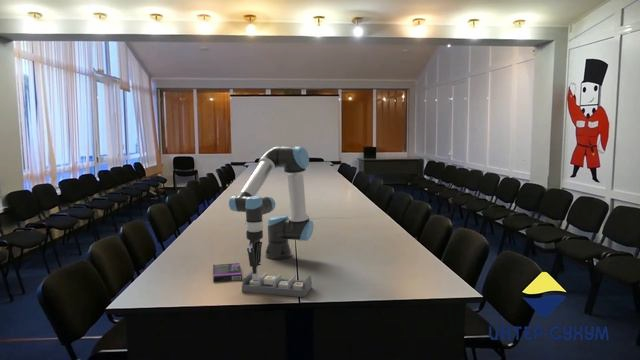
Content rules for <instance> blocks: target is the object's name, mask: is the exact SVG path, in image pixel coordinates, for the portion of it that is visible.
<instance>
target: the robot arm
mask: <svg viewBox="0 0 640 360" xmlns="http://www.w3.org/2000/svg"><path fill="white" fill-rule="evenodd" d="M309 162H310V157H309V153H308V151H307V149H306V148H305V147H303V146H298V145H283V146H282V145H277V146H274V147H271V148H270V149H268V150H267V151H266V152H264V154H262V156H261V157H260V158H259V160H258V165H257V166H256V168H255V170H254V171H253V172H252V174H251V176H250V177H249V178H248V180H247V181H246V183H245V184H244V186H243V187H242V189H241V191H240V192H239V194H238V195H232V196H231V197H230V198H229V200H228V208H229V209H230V211H233V212H237V213H240V212H241V213H245V226H246V227H245V228H246V233H245V234H246V235H245V236H246V239H247V240H248V241H249V247H247V249H246V250H247V256H248V262H249V267H251V271H252V280H258V279H259V277H260V266H261V259H262V248H263V247H262V246H263V241H261V240H262V239H263V238H264V234H263V233H264V231H263V228H264V226H263V225H264V224H263V215H265V214H266V215H267V214H269V213H271V212H273V211H274V210H275V209H276V208H275V207H276V201H275V200H274V198H272V197H271V196H264V197H261V196H257V194H258V193H259V191H260V190H261V188H262V186H263V185H264V183H266V181H267V179H268V177H269V176H270V173H272V172H274V171H275V170H276V169H277V168H283V169H284V173H285V174H286V175H287V183H288V185H287V186H288V196H289V206H290V207H289V209H290V215H289V216H288V215H277V216H276V215H275V216H271V217H269V218H268V220H267V240H268V241H267V245H266V249H265V253H264V255H265V257H266V258H267V259H269V260H270V259H271V260H283V259H288V258H290V257H292V249H291V247H290V244H289V243H290V242H289V240H293V241H299V242H302V241H303V242H307V241H309V240H310V239H311V238H312V235H313V232H314V226H315V225H314V222H313V220H312V219H311V220H310V215H309V214H307V209H306V207H307V206H306V195H305V184H304V183H305V181H304V173H305V171H306V168H308V166H309Z"/></svg>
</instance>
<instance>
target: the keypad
mask: <svg viewBox="0 0 640 360" xmlns="http://www.w3.org/2000/svg"><path fill="white" fill-rule="evenodd" d="M266 276H268V272H265V273H263V275H261V276H259V279H258V286H255V285H250V281H251V280H252V270H251V271H249V272H248V273H247V274H245V275H244V276H242V285H241V292H243V293H253V294H263V295H264V294H266V295H273V296H287V297H297V298H306V296H307V295H308V294H309V292H310V291H311V289H312V287H313V286H312V285H313V284H312V283H313V282H312V276H311V275H308V276H307V277H306V278H305V280H297V279H296V275H295V274H293V275H292V277H290V278H289V279H286V278H284V279H283V278H282V274H281V273H279V274H278V275H277V276H276V278H275V279H274V280H273V285H269V284H264V278H265V277H266ZM280 281H288V288H278V284H279V283H280ZM295 282H303V290H301V289H293V284H294V283H295Z"/></svg>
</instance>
